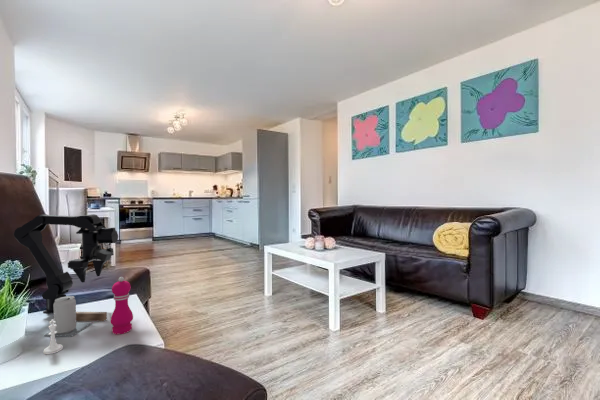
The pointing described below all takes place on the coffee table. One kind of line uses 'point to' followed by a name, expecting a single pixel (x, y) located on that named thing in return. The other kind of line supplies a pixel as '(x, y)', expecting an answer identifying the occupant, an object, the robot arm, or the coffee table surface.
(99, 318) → the low wall
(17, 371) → the coffee table surface
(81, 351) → the coffee table surface
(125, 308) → the pepper mill
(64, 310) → the beverage can
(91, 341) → the coffee table surface
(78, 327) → the slate mat
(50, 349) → the chess piece
